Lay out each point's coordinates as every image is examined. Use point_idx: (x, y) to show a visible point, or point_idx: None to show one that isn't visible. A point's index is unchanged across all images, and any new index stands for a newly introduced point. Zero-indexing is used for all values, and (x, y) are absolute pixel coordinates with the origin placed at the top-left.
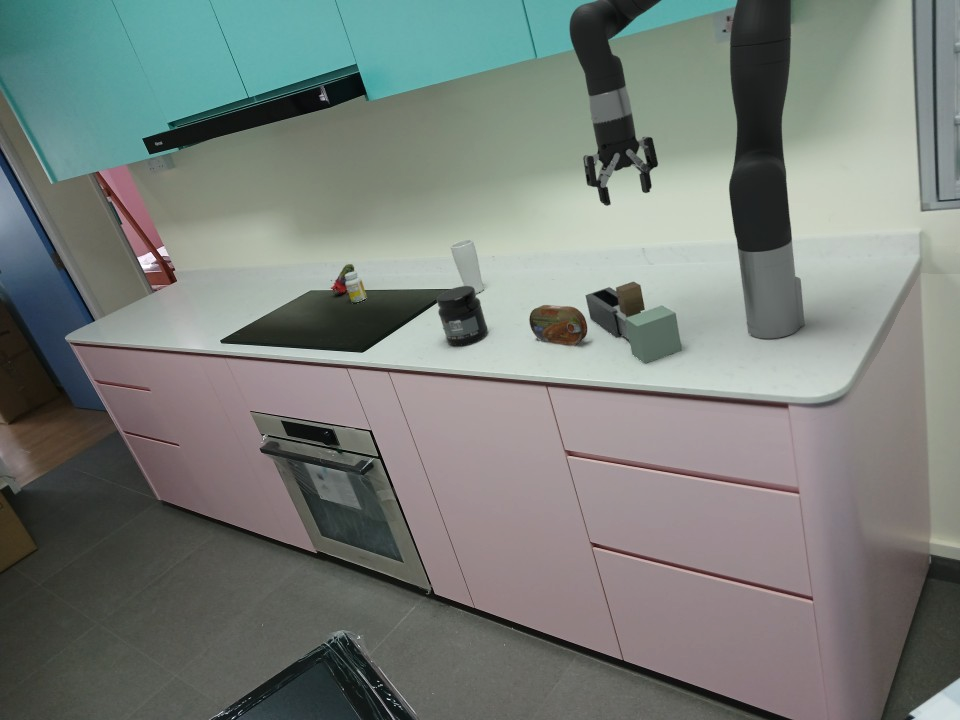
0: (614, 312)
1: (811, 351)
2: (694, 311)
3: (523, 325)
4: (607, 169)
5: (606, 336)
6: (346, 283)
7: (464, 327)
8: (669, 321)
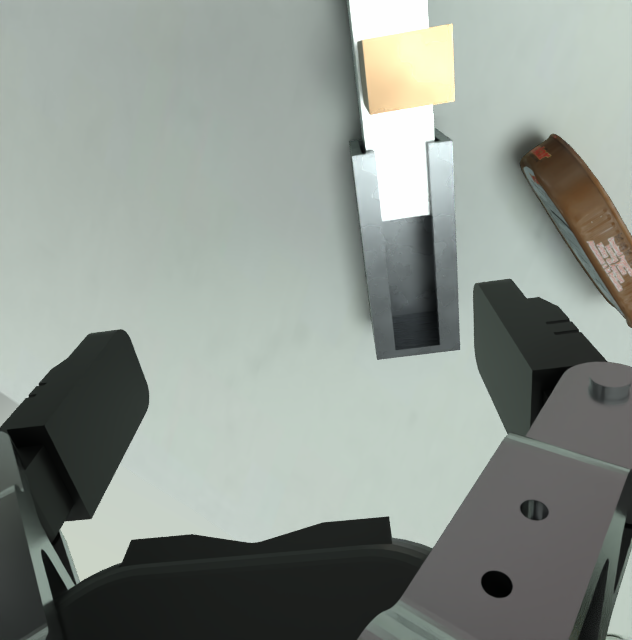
0: (439, 141)
1: None
2: (181, 161)
3: None
4: (610, 528)
5: (453, 160)
6: None
7: None
8: None
